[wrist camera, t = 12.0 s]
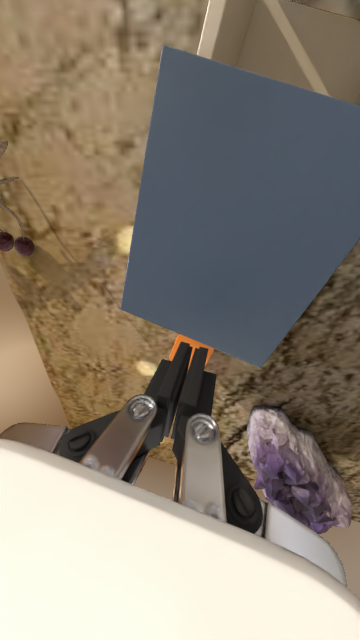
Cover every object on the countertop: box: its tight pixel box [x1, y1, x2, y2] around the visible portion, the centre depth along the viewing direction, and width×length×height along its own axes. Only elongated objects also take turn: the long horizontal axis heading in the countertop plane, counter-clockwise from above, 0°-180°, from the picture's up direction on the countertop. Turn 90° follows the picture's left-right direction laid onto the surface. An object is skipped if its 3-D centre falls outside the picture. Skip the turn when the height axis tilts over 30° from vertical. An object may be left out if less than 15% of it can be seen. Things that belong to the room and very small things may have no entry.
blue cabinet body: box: [121, 45, 360, 368], centre depth 16 cm, size 15×13×10 cm
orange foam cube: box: [169, 334, 214, 368], centre depth 25 cm, size 4×4×4 cm
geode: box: [247, 405, 352, 534], centre depth 29 cm, size 20×12×10 cm, turn 39°
